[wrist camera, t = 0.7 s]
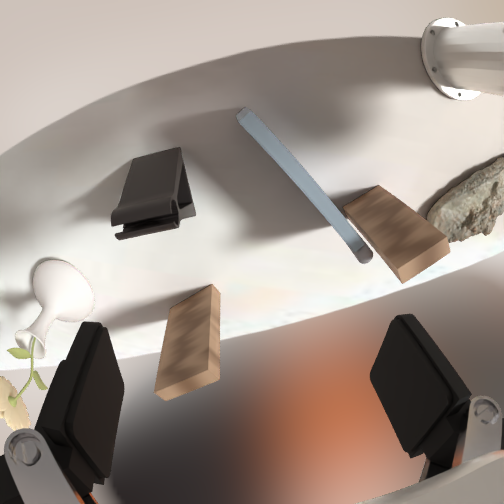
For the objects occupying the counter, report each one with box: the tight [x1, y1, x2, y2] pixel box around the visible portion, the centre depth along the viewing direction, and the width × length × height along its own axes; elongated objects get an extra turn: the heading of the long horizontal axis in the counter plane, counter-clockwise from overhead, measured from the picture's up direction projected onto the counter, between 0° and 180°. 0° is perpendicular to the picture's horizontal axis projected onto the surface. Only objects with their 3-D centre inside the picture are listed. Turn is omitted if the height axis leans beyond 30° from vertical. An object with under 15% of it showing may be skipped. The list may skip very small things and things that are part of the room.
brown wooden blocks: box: [154, 186, 450, 401], centre depth 36 cm, size 35×2×16 cm, turn 122°
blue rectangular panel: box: [236, 107, 373, 264], centre depth 33 cm, size 20×2×10 cm, turn 42°
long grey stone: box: [427, 157, 504, 243], centre depth 39 cm, size 35×5×10 cm
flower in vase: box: [0, 260, 95, 431], centre depth 33 cm, size 13×11×25 cm
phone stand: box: [111, 147, 196, 240], centre depth 32 cm, size 9×6×12 cm, turn 9°
